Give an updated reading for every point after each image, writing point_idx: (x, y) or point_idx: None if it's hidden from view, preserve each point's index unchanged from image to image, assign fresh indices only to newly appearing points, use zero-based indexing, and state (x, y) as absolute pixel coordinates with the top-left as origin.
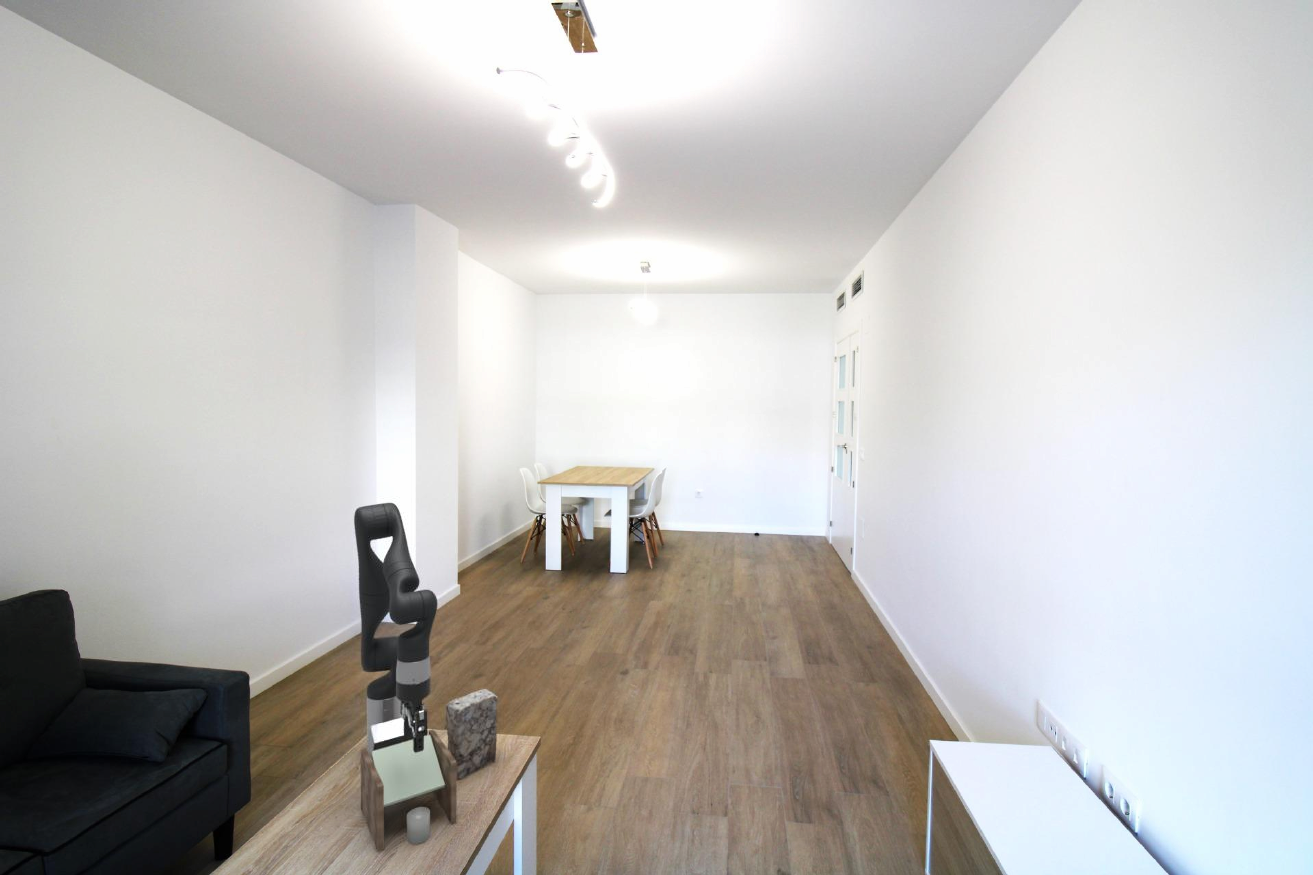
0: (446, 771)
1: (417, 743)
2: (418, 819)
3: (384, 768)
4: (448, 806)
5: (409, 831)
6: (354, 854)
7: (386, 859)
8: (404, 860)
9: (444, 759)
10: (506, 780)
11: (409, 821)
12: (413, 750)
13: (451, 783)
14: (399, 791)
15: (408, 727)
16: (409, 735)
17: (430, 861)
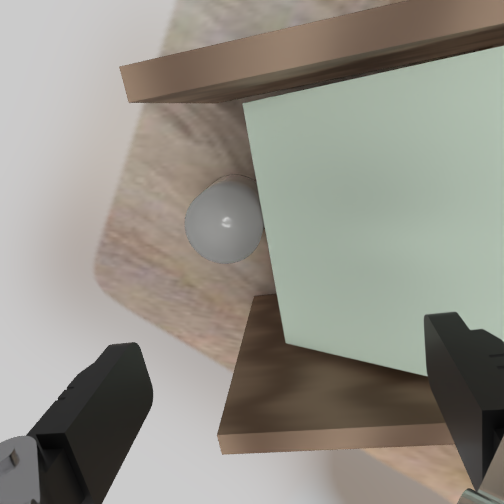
0: (297, 378)
1: (49, 415)
2: (189, 223)
3: (424, 117)
4: (278, 312)
5: (209, 186)
6: (228, 6)
7: (168, 109)
8: (146, 159)
9: (328, 404)
10: (388, 457)
11: (201, 193)
12: (121, 344)
13: (234, 371)
14: (286, 178)
15: (449, 393)
16: (426, 347)
17: (121, 224)
